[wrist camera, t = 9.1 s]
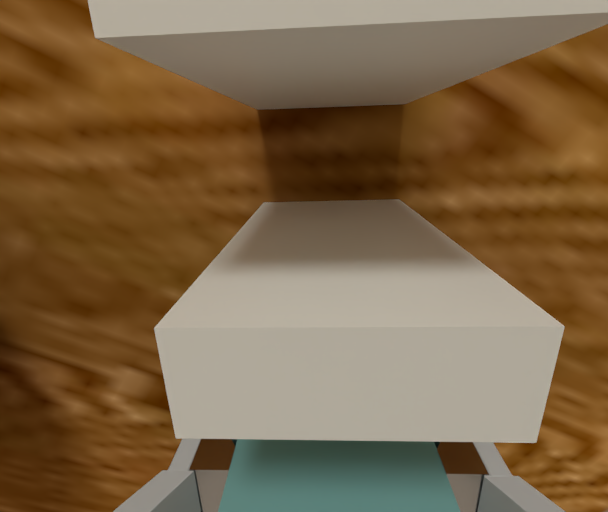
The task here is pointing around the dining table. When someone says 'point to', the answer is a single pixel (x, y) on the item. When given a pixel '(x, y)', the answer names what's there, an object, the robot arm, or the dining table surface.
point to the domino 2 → (354, 334)
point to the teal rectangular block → (336, 477)
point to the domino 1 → (337, 43)
